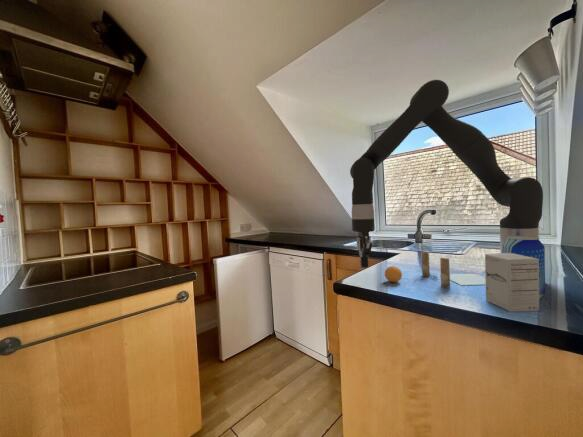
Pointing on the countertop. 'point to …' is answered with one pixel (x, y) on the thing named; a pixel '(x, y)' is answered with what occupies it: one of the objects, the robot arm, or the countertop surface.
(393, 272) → the ball
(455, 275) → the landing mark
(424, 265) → the far post
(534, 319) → the countertop surface
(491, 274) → the supplement box
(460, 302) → the countertop surface
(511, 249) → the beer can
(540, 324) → the countertop surface
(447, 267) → the near post
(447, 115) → the robot arm
